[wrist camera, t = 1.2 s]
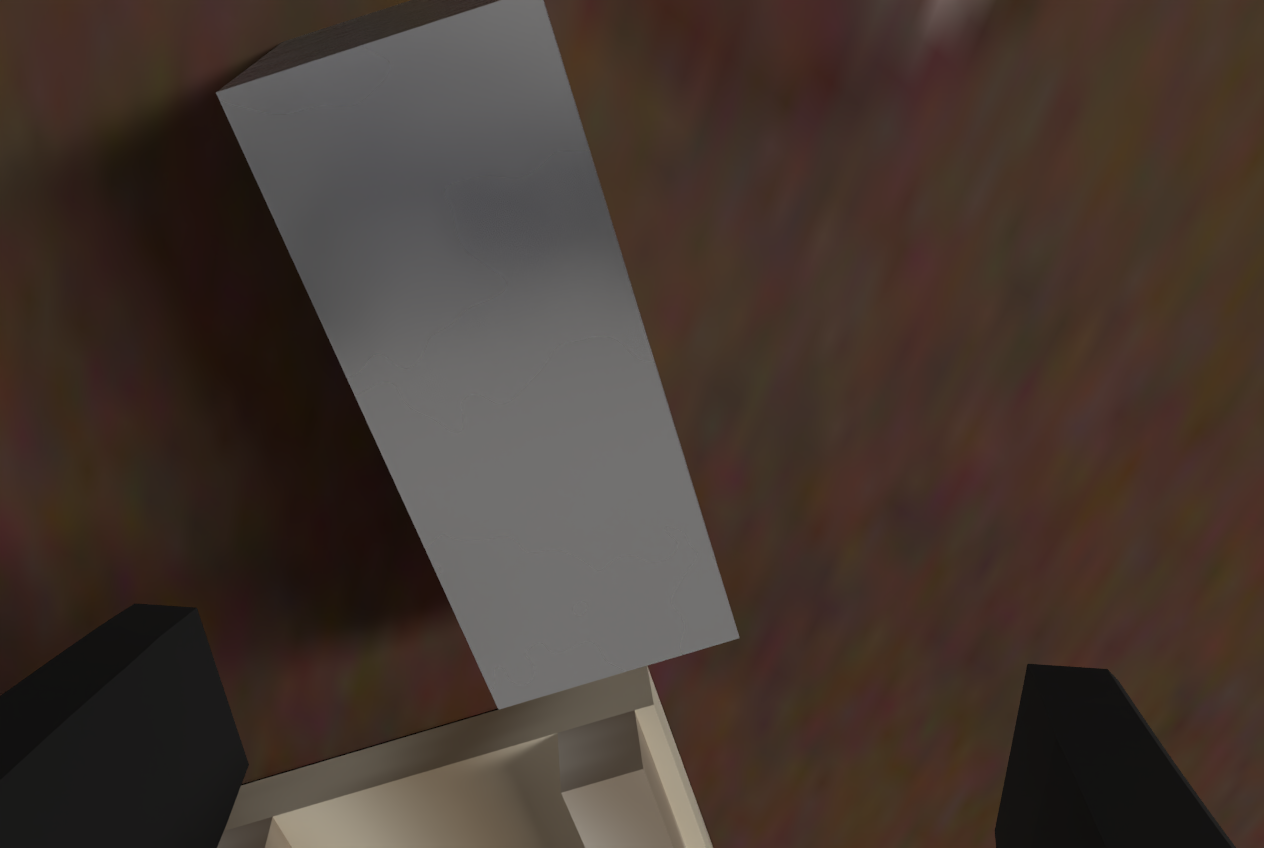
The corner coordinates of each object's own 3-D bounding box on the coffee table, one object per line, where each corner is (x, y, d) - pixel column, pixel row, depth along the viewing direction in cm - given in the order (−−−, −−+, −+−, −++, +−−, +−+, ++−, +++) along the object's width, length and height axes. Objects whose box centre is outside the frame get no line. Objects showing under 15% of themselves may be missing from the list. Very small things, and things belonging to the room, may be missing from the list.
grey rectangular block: (500, 553, 22) (498, 709, 18) (284, 40, 17) (215, 91, 13) (695, 494, 21) (739, 638, 17) (531, -41, 17) (539, -13, 13)
